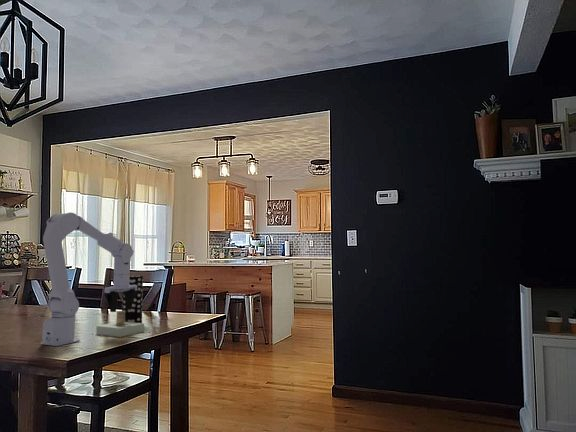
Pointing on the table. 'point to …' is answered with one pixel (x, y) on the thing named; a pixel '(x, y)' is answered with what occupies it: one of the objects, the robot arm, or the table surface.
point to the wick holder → (120, 329)
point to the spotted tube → (134, 301)
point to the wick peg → (120, 318)
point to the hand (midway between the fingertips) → (120, 310)
